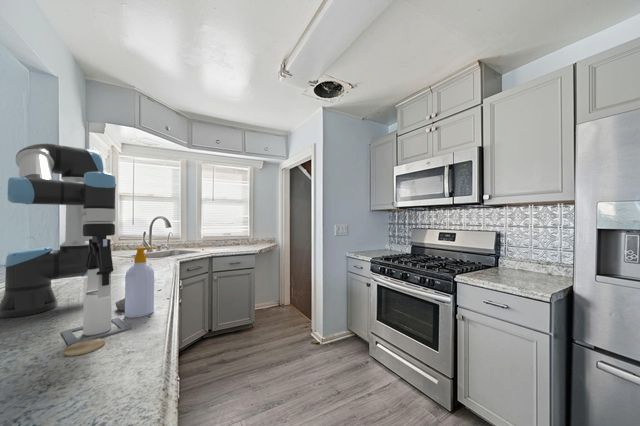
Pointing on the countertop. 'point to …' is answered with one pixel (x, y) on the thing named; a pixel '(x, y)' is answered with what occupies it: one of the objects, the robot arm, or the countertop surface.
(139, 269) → the soap bottle
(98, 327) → the can
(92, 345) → the coaster
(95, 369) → the countertop surface
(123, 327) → the frame
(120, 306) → the stone
